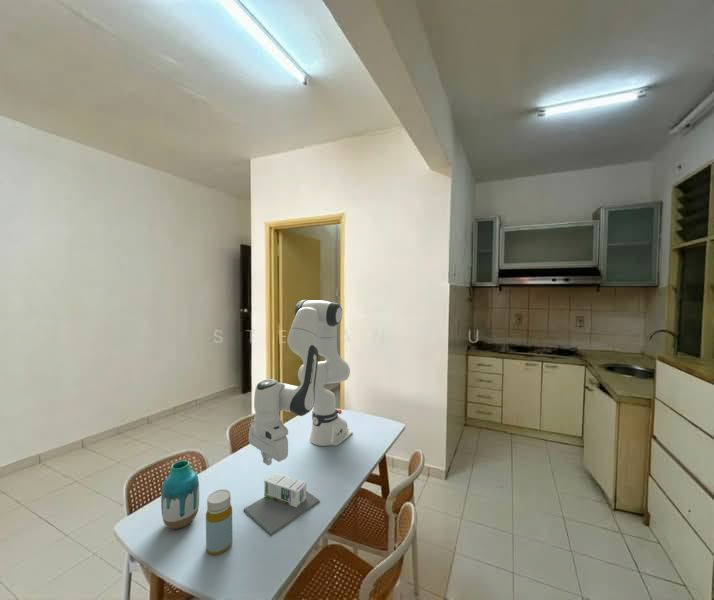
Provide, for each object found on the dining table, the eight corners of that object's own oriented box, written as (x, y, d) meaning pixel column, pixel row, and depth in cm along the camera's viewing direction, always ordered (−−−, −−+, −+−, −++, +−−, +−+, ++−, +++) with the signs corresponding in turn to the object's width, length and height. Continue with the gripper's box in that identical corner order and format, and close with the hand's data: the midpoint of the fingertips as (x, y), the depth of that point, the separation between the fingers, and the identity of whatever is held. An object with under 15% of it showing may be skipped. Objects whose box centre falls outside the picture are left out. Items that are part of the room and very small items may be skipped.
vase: (156, 539, 93) (155, 477, 92) (167, 514, 103) (166, 458, 102) (195, 531, 96) (194, 471, 95) (202, 508, 106) (201, 453, 105)
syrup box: (264, 480, 111) (297, 492, 105) (274, 472, 117) (307, 482, 111) (263, 496, 111) (297, 508, 105) (274, 487, 117) (306, 498, 111)
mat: (291, 482, 120) (291, 481, 120) (319, 501, 110) (319, 500, 110) (243, 510, 105) (243, 508, 105) (270, 535, 95) (270, 533, 95)
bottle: (202, 545, 91) (202, 495, 90) (226, 532, 96) (226, 485, 95) (211, 560, 86) (210, 508, 85) (236, 546, 91) (235, 496, 90)
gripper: (244, 420, 117) (244, 456, 117) (275, 438, 103) (276, 478, 104) (259, 415, 121) (259, 449, 122) (291, 431, 108) (291, 470, 109)
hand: (267, 463), depth 113 cm, fingers closed
